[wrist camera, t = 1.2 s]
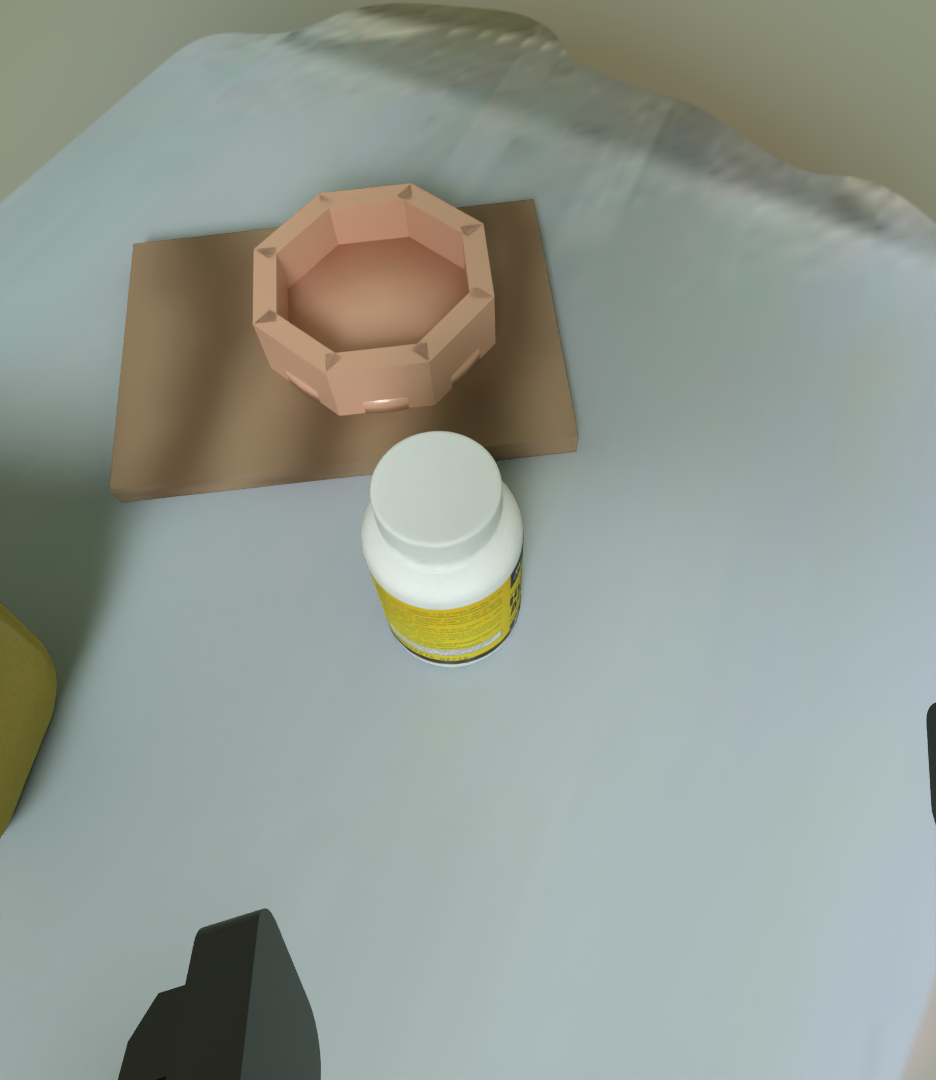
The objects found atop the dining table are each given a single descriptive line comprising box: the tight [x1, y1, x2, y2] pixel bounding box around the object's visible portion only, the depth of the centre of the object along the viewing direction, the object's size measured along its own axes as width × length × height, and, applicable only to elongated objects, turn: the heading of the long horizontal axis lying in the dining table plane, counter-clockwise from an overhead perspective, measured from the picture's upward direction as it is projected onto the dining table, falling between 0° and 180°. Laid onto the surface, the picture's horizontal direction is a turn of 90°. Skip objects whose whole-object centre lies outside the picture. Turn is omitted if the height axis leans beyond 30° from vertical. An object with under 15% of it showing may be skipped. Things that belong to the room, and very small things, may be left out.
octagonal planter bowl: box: [253, 183, 496, 416], centre depth 37 cm, size 10×10×3 cm
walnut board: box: [109, 199, 578, 502], centre depth 39 cm, size 20×14×1 cm
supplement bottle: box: [361, 431, 524, 667], centre depth 29 cm, size 5×5×10 cm
